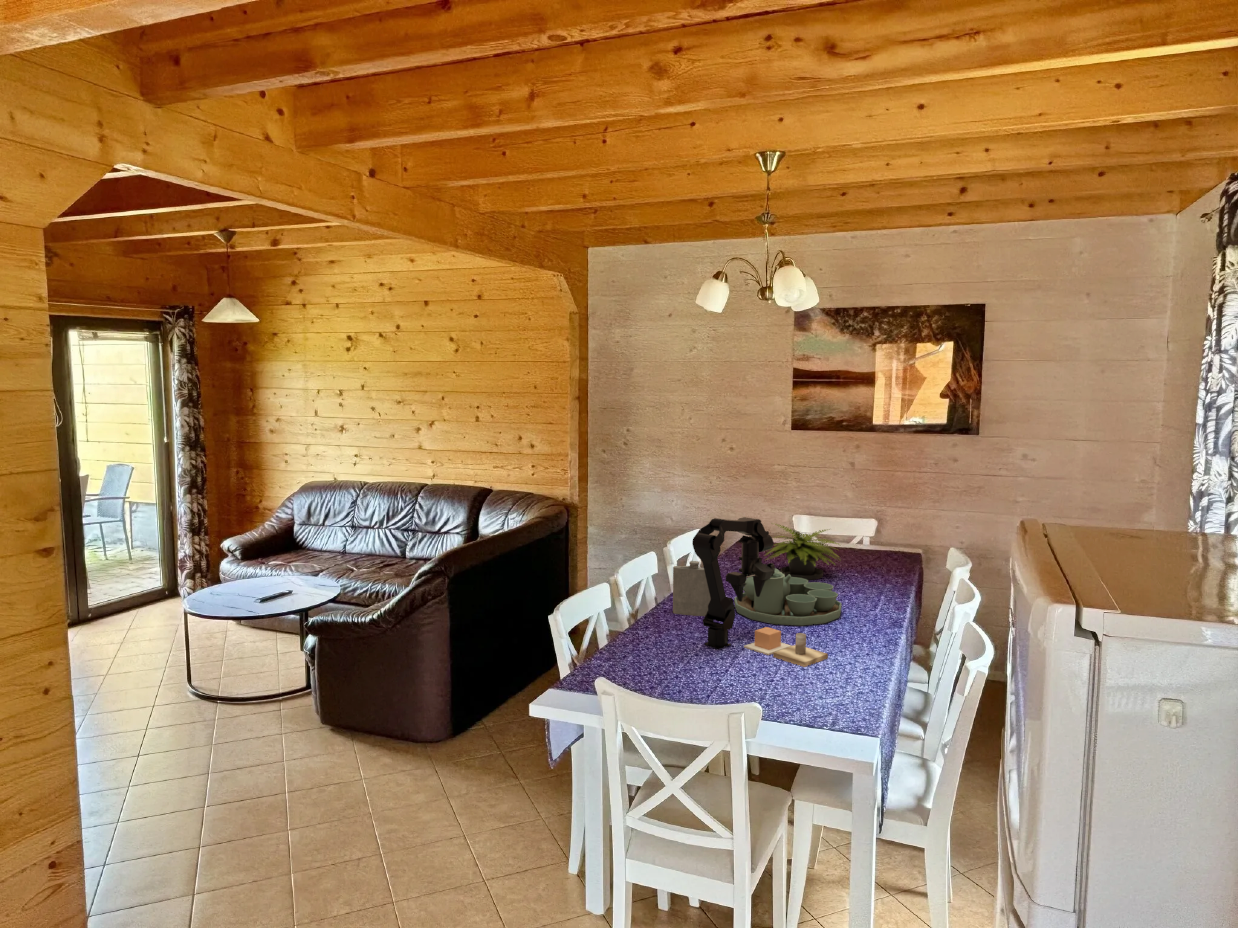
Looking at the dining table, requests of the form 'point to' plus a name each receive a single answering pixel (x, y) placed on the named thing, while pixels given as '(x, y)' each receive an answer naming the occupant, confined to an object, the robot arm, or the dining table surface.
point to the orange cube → (767, 638)
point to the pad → (766, 651)
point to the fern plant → (803, 554)
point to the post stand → (800, 653)
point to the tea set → (789, 601)
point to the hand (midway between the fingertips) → (749, 598)
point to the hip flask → (690, 590)
